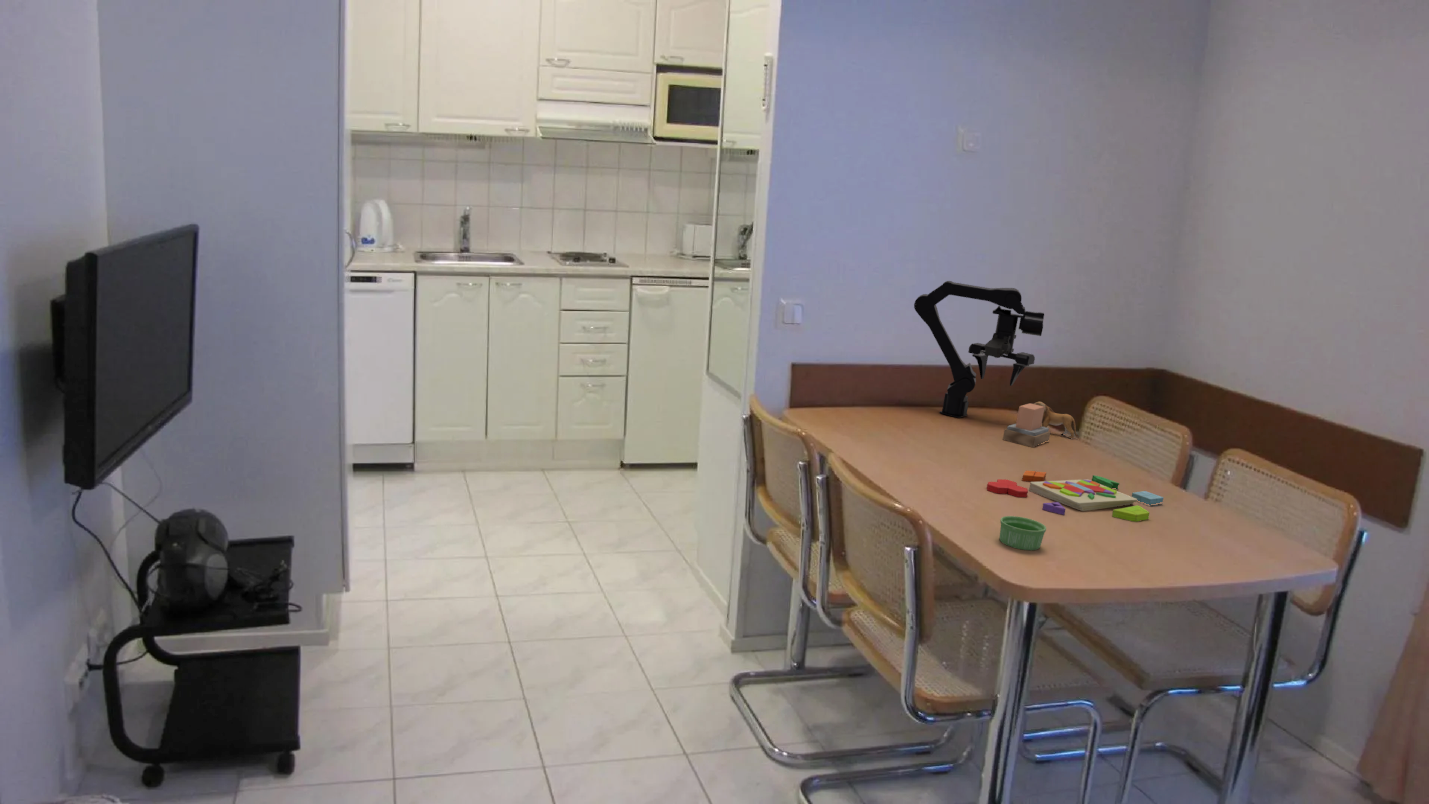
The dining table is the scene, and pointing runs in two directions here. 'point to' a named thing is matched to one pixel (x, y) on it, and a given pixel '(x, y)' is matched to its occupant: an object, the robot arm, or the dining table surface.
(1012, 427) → the base brick
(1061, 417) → the lion figurine
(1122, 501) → the pattern blocks set
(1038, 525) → the ramekin
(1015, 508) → the dining table surface
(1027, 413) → the terracotta brick
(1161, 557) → the dining table surface
